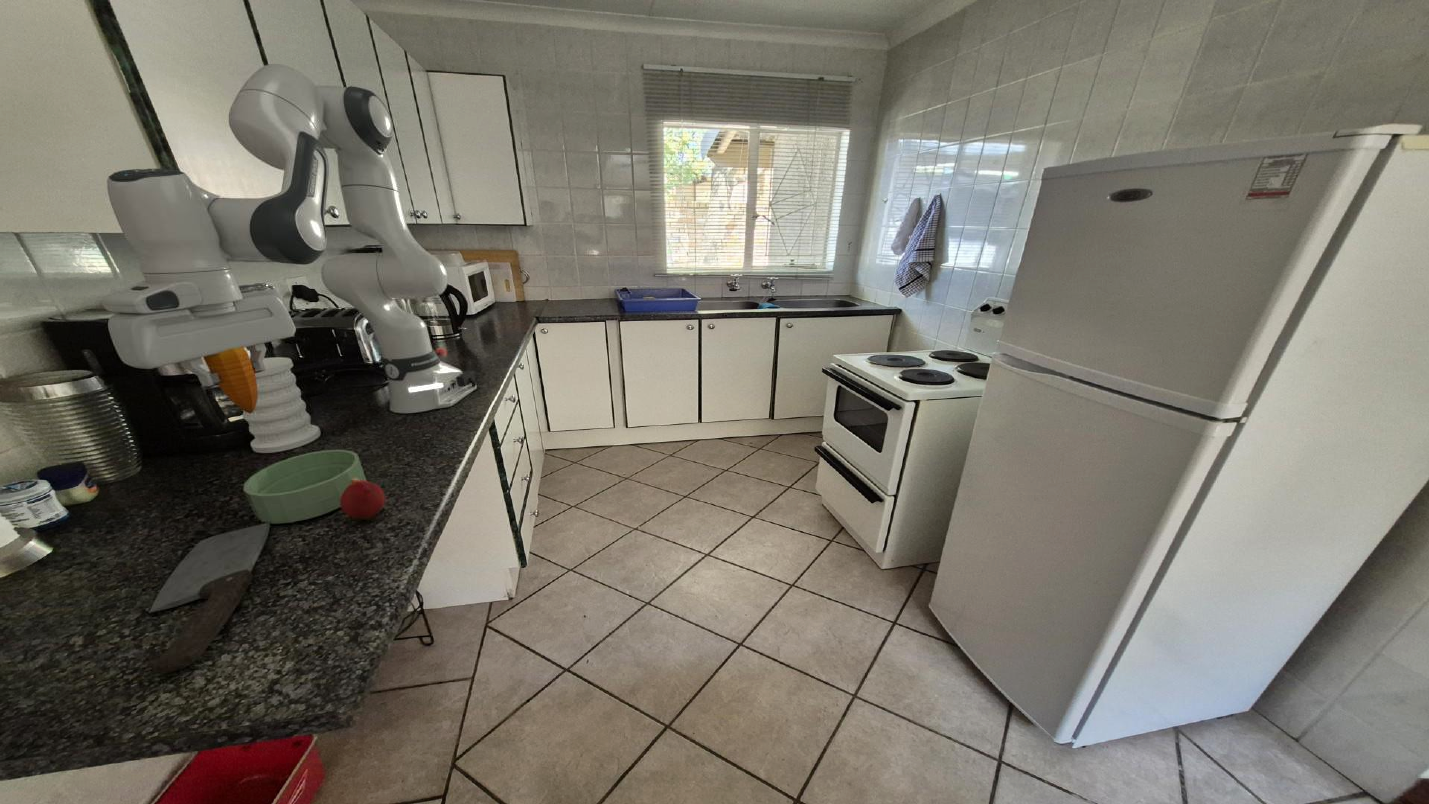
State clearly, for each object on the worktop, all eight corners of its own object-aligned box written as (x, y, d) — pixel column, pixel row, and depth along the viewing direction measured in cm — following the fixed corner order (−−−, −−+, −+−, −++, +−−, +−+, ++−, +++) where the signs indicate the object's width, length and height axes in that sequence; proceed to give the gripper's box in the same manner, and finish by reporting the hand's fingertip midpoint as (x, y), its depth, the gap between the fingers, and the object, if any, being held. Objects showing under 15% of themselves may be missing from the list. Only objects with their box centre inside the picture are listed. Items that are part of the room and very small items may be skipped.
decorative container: (238, 449, 97) (202, 370, 90) (297, 426, 107) (269, 355, 101) (277, 456, 94) (243, 376, 87) (333, 432, 105) (306, 359, 98)
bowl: (323, 472, 88) (313, 446, 86) (388, 481, 86) (379, 454, 83) (233, 519, 75) (218, 489, 72) (306, 532, 72) (293, 501, 70)
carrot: (245, 420, 71) (204, 327, 65) (221, 417, 72) (178, 326, 66) (278, 408, 76) (243, 320, 70) (256, 405, 77) (219, 319, 71)
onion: (386, 504, 79) (373, 465, 76) (393, 518, 75) (380, 478, 72) (345, 518, 75) (330, 477, 72) (350, 534, 71) (335, 492, 68)
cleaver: (224, 657, 51) (217, 644, 50) (93, 705, 46) (82, 691, 45) (276, 524, 74) (271, 513, 73) (191, 546, 69) (185, 535, 68)
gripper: (259, 280, 76) (289, 358, 81) (81, 301, 58) (134, 399, 63) (289, 282, 75) (316, 360, 80) (116, 303, 56) (167, 403, 62)
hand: (235, 378), depth 71 cm, fingers closed on carrot, 5 cm apart
